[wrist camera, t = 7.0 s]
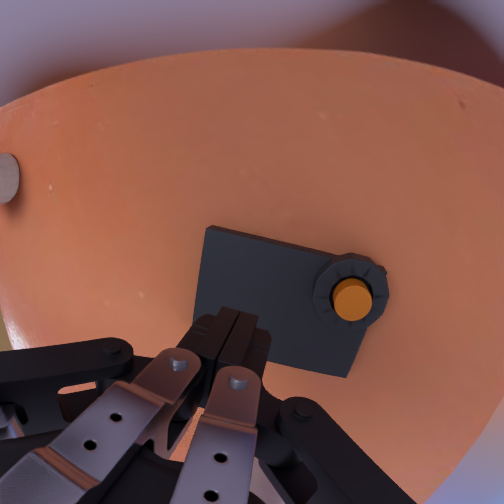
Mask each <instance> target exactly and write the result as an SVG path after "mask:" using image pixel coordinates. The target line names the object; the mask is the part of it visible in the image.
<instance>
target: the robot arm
mask: <svg viewBox="0 0 504 504" xmlns="http://www.w3.org/2000/svg"><path fill="white" fill-rule="evenodd" d="M258 319H259V316H258V315H254V314H251V313H247V312H243V311H241V313H240V310H236V309H233V308H229V307H226V306H222V308H221V309H220V311H219V312H218V314H217V315H216V316H214V315H210V314H205V315H203V316H201V317H198V318H197V320H196V321H195V322H194V324H193V326H191V328H190V329H189V331H188V332H187V333H186V334H185V336H184V337H183V338H182V340H181V341H180V342H179V344H178V345H177V346H176V348H168V349H165V350H163V351H162V352H160V353H159V354H158V355H157V356H156V357H155V358H149V357H142V356H136V355H133V348H132V346H131V345H130V344H129V343H128V342H126V341H124V340H122V339H119V338H113V337H109V338H101V339H95V340H88V341H82V342H75V343H68V344H61V345H53V346H45V347H37V348H29V349H20V350H11V351H1V352H0V504H266V503H265V502H264V501H263V500H261V499H260V498H259V497H258V496H257V495H255V494H254V493H252V492H251V491H249V489H250V483H251V476H252V469H253V462H254V457H256V458H257V459H258V463H259V466H260V468H261V469H262V471H263V472H264V474H265V475H266V477H267V478H268V480H269V481H270V483H271V484H272V486H273V487H274V488H275V490H276V491H277V493H278V494H279V496H280V497H281V498H282V500H283V501H284V503H285V504H417V503H416V502H415V501H414V500H412V499H411V498H410V497H409V496H408V495H407V494H406V493H405V492H404V491H403V490H402V489H401V488H400V487H399V486H398V485H397V484H396V483H395V482H394V481H393V480H392V479H391V478H390V477H389V476H388V475H387V474H386V473H385V472H384V471H383V470H382V469H381V468H380V467H379V466H378V465H377V464H376V463H375V462H374V461H373V460H372V459H371V458H370V457H369V456H368V455H367V454H366V453H365V452H364V451H363V450H362V449H361V448H360V447H359V446H358V445H357V444H356V443H355V442H354V441H353V440H352V439H351V438H350V437H349V436H348V435H347V434H346V433H345V432H344V431H343V429H342V428H341V427H340V426H339V425H338V424H337V423H336V422H335V421H334V420H333V419H332V418H331V417H330V416H329V415H328V413H327V412H326V411H325V410H324V409H323V408H322V407H321V406H320V405H319V404H318V403H316V402H315V401H313V400H311V399H308V398H305V397H290V398H288V399H286V400H284V401H282V400H280V399H278V398H276V397H274V396H272V395H271V394H270V393H269V392H267V390H266V389H265V388H264V386H263V383H262V377H263V373H264V369H265V365H266V361H267V357H268V353H269V349H270V345H271V341H272V338H271V335H270V333H269V331H267V330H264V329H260V328H256V327H257V323H258ZM94 381H95V384H96V388H95V389H89V390H84V391H79V392H74V393H68V394H58V391H59V390H60V389H61V388H63V387H67V386H73V385H78V384H84V383H89V382H94ZM198 407H201V408H204V409H205V410H204V413H203V415H202V414H201V416H200V418H199V421H198V424H197V427H196V430H195V432H194V435H193V438H192V441H191V444H190V447H189V450H188V453H187V455H186V458H185V461H184V462H178V461H172V460H169V458H170V456H171V454H172V453H173V451H174V450H175V448H176V447H177V445H178V444H179V442H180V440H181V439H182V437H183V436H184V434H185V432H186V431H187V429H188V428H189V426H190V425H191V423H192V420H193V416H194V414H195V412H196V410H197V408H198Z"/></svg>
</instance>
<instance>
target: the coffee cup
mask: <svg viewBox="0 0 504 504" xmlns="http://www.w3.org/2000/svg"><path fill="white" fill-rule="evenodd" d="M249 491H251V492H252V493H254V494H255V495H257V496H258V497H259V498H260V499H261V500H263V501H264V502H265V503H266V504H285V503H284V501H283V500H282V498H281V497H280V496H279V494H278V493H277V491H276V490H275V488H274V487H273V486H272V484H271V483H270V481H269V480H268V478H267V477H266V475H265V474H264V472H263V471H262V469H261V468H260V466H259V463H258V459H257V458H256V457H254V462H253V469H252V476H251V483H250V489H249Z"/></svg>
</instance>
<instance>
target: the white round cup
mask: <svg viewBox="0 0 504 504" xmlns="http://www.w3.org/2000/svg"><path fill="white" fill-rule="evenodd" d="M18 186H19V167H18V163H17V161H16V159H15V158H14V157H13V156H12V155H10V154H9V153H0V205H1V204H6V203H7V202H9V201H10V200H11V199H12V198H13V197H14V196H15V194H16V192H17V190H18Z"/></svg>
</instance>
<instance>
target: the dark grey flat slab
mask: <svg viewBox="0 0 504 504" xmlns="http://www.w3.org/2000/svg"><path fill="white" fill-rule="evenodd" d="M386 274H387V271H386V270H385V268H384V267H383V266H379V265H376V264H375V263H374V262H373V261H372V260H371V259H370V258H369V257H366V256H362V255H358V254H354V253H347V254H343V255H335V254H331V253H327V252H323V251H319V250H315V249H311V248H306V247H302V246H298V245H294V244H290V243H286V242H282V241H277V240H273V239H269V238H265V237H260V236H256V235H252V234H248V233H243V232H239V231H235V230H231V229H226V228H222V227H218V226H213V225H211V226H209V227H208V228H206V232H205V238H204V245H203V251H202V258H201V264H200V271H199V278H198V285H197V292H196V300H195V307H194V315H193V323H192V326H193V324H194V322H195V321H196V320H197V318H198V317H201V316H203V315H205V314H210V315H214V316H216V315H217V314H218V312H219V311H220V309H221V308H222V306H226V307H229V308H233V309H236V310H240V313H241V311H243V312H247V313H251V314H254V315H258V316H259V319H258V323H257V327H256V328H260V329H264V330H267V331H269V333H270V335H271V338H272V341H271V345H270V349H269V353H268V357H267V361H270V362H274V363H278V364H282V365H286V366H290V367H295V368H299V369H304V370H308V371H313V372H318V373H323V374H328V375H333V376H338V377H343V378H346V377H347V375H348V373H349V371H350V368H351V366H352V364H353V361H354V359H355V357H356V354H357V352H358V350H359V347H360V345H361V342H362V340H363V337H364V335H365V332H366V330H367V327H369V326H370V325H371V324H372V323H373V322H375V321H376V320H377V319H378V318H379V317H380V316H381V315H382V314H383V312H384V309H385V307H386V304H387V301H388V299H389V290H388V284H387V279H386ZM351 278H354V279H358V280H361V281H362V282H363V283H364V284H365V285H366V286H367V288H368V290H369V293H370V295H371V298H372V306H371V309H370V311H369V312H368V314H367V315H366V316H364V317H363V318H361V319H359V320H356V321H348V320H345V319H343V318H341V317H340V316H339V315H338V314H337V313H336V311H335V307H334V300H333V293H334V290H335V288H336V286H337V285H338V284H339V283H340V282H342V281H344V280H346V279H351Z"/></svg>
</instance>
